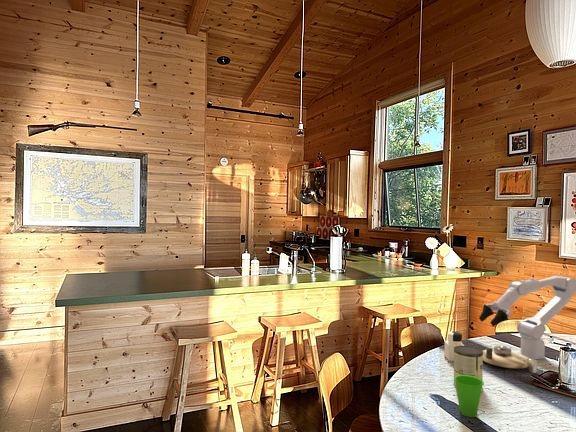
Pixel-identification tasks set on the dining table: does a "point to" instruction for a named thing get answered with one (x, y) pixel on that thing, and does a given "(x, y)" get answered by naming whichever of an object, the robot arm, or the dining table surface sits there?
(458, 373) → the coffee can
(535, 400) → the dining table surface
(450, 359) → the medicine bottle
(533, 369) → the silver knobbed piece
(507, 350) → the cover
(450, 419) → the dining table surface
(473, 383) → the cup
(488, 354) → the platter
